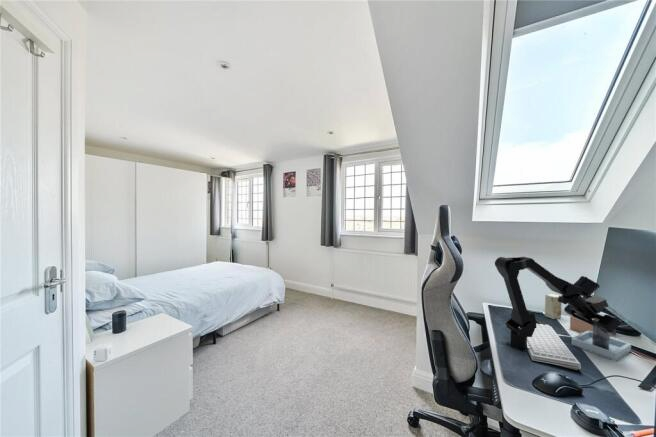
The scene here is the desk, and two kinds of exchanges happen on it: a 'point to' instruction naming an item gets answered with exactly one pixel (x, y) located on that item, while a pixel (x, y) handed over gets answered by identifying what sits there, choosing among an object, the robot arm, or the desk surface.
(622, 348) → the trough
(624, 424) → the desk surface
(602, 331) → the block
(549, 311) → the skincare box
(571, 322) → the orange open box
